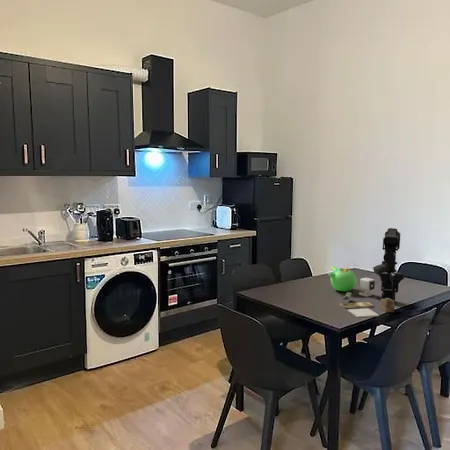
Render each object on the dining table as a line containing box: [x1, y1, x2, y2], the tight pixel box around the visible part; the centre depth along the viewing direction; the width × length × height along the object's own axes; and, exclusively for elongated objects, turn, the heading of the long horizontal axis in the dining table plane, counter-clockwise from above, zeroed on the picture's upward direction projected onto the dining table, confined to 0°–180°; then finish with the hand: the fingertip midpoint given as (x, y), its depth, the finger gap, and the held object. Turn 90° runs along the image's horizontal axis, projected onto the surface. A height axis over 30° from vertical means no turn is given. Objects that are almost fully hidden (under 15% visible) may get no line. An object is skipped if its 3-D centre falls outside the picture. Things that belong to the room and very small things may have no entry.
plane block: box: [339, 301, 374, 309], centre depth 239 cm, size 17×6×1 cm, turn 101°
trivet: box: [347, 307, 380, 318], centre depth 227 cm, size 12×11×1 cm
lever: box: [342, 291, 352, 305], centre depth 244 cm, size 16×3×4 cm, turn 156°
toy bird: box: [327, 265, 358, 292], centre depth 270 cm, size 18×17×15 cm
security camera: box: [358, 277, 376, 297], centre depth 261 cm, size 6×7×10 cm
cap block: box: [380, 298, 396, 313], centre depth 232 cm, size 5×5×7 cm
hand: (388, 288), depth 231 cm, fingers open, 9 cm apart
